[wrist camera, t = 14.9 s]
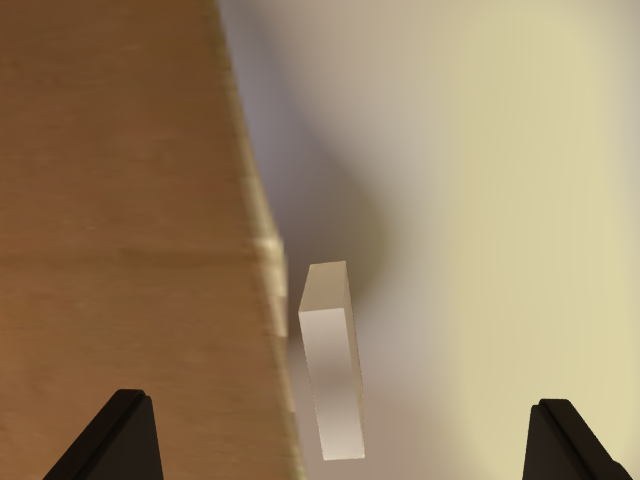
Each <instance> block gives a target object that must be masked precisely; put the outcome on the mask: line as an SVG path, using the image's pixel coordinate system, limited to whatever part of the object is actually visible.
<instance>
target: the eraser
mask: <svg viewBox="0 0 640 480" xmlns="http://www.w3.org/2000/svg"><path fill="white" fill-rule="evenodd" d="M299 319H300V324H301V330H302V336H303V342H304V347H305V353H306V359H307V365H308V370H309V377H310V382H311V388H312V394H313V400H314V405H315V411H316V417H317V423H318V428H319V434H320V440H321V446H322V452H323V457H324V460H338V459H354V458H365V444H364V417H363V391H362V378H361V370H360V363H359V356H358V348H357V341H356V334H355V326H354V319H353V312H352V304H351V297H350V289H349V282H348V274H347V268H346V261H337V262H329V263H320V264H311V265H310V268H309V272H308V276H307V280H306V284H305V288H304V292H303V296H302V300H301V304H300V308H299Z"/></svg>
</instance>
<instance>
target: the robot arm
mask: <svg viewBox="0 0 640 480" xmlns="http://www.w3.org/2000/svg"><path fill="white" fill-rule="evenodd" d="M42 480H164V479H163V472H162V466H161V459H160V453H159V446H158V439H157V433H156V426H155V419H154V413H153V406H152V400H151V398H150V396H146V395H145V393H144V391H143V390H136V389H120V390H118V391H116V392H115V394H114V395H113V396H112V397H111V398H110V400H109V401H108V402H107V403H106V404H105V406H104V407H103V408H102V409H101V410H100V411H99V413H98V414H97V415H96V416H95V417H94V419H93V420H92V421H91V422H90V423H89V425H88V426H87V427H86V428H85V429H84V431H83V432H82V433H81V434H80V435H79V437H78V438H77V439H76V440H75V441H74V443H73V444H72V445H71V446H70V447H69V448H68V450H67V451H66V452H65V453H64V454H63V456H62V457H61V458H60V459H59V460H58V462H57V463H56V464H55V465H54V466H53V468H52V469H51V470H50V471H49V472H48V474H47V475H46V476H45V477H44V478H43V479H42ZM522 480H633V479H632V478H631V477H630V475H629V474H628V472H627V471H626V470H625V469H624V468H623V467H622V465H621V464H620V463H617V462H616V461H613V460H612V458H611V457H610V455H609V454H608V453H607V451H606V450H605V448H604V447H603V446H602V445H601V443H600V442H599V441H598V439H597V438H596V436H595V435H594V434H593V432H592V431H591V429H590V428H589V427H588V426H587V424H586V423H585V421H584V420H583V419H582V417H581V416H580V414H579V413H578V412H577V410H576V409H575V408H574V406H573V405H572V404H571V402H570V401H569V400H567V399H541V400H540V401H539V404H538V405H533V406H532V408H531V414H530V422H529V430H528V439H527V446H526V454H525V462H524V471H523V478H522Z"/></svg>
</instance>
